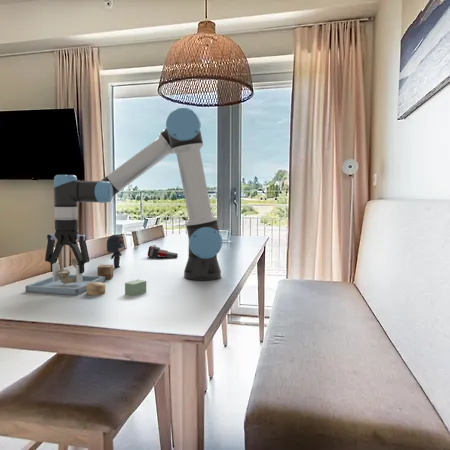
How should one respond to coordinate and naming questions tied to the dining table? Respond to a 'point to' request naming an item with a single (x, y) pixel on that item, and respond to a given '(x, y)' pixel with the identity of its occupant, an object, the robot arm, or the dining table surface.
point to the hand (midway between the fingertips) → (67, 281)
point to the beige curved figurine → (66, 272)
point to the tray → (63, 285)
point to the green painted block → (135, 287)
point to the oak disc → (95, 288)
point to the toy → (115, 248)
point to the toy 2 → (160, 252)
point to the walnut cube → (105, 271)
